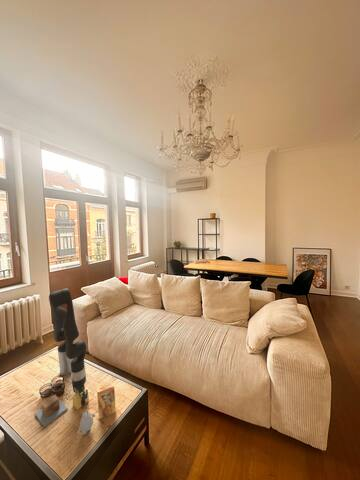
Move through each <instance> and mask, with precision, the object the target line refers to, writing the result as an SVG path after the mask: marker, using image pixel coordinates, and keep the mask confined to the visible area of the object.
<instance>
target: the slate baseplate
mask: <svg viewBox="0 0 360 480" xmlns="http://www.w3.org/2000/svg"><path fill="white" fill-rule="evenodd" d="M59 405H60V408H59V409H58V410H57V411H55V412H54V413H52V414H51V415H50V416H48V417H47V418H46V417H45V416H44V415H43V413H42V408H41V409H39V410H38V411H37V412H34V416H35V418H37V420H38V422H39V423H40V425H41V426H42V427H43V428H46V427H47V426H48V425H50V424H51V423H52V422H53V421H55V420H56V419H57V418H59V417H60V416H61V415H63V414H64V413H66V412H67V411H68V407H67V406H66V405H65V404H64V403H63V402H62V400H61V399H59Z"/></svg>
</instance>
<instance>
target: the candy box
mask: <svg viewBox="0 0 360 480" xmlns="http://www.w3.org/2000/svg"><path fill="white" fill-rule="evenodd" d="M96 396H97V397H96V398H97V407H98V419H99V420H101V419H103V418H105V417H108V416H110V415H113V414H116V412H117V411H116V409H117V407H116V394H115V386H114V383H110V384H107V385H105V386H101V387H98V388H97V389H96Z"/></svg>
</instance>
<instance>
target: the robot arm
mask: <svg viewBox="0 0 360 480" xmlns="http://www.w3.org/2000/svg"><path fill="white" fill-rule="evenodd" d="M48 301H49V306H50V310H51V317H52V319H51V321H52V324H53V325H52V326H53V337H54V339H53V340H54V342H56V343H60V342H61V343H60V344H58V346H57V354H58V364H59V374H60V375H61V376H67V375H70V376H71V377H70V378H71V386H72V391H73V393H74V394H76V393H77V392H78V394H79V396H80V398H81V405H83V406H84V405H85V404H86V403H85V399H86V398H87V395H88V396H89V391H88V389H86V386H85V384H86V382H87V376H86V375H87V373H86V367H85V357H86V353H87V343H86V342H85V341H84V340H79V341H76V342H75V340H76V339H77V338H79V336H80V332H79V330H78V325H77V322H76V318H75V317H76V315H75V310H74V309H75V308H74V304H73V298H72V293H71V291H70V289H69V288H67V287H66V288H62V289H57V290H55V291H53V292H50V293H49V295H48ZM65 305H66V308H64V307H62V306H65ZM85 389H86V390H85ZM82 392H83V393H82ZM80 393H81V394H80Z"/></svg>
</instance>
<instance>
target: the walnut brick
mask: <svg viewBox="0 0 360 480" xmlns="http://www.w3.org/2000/svg"><path fill="white" fill-rule="evenodd" d="M59 400H60V398H59V396H57V395H56V394H54V395H52V396H51V397H49V398H47V399H46V400H45V401H42V402H41V404H40V405H41V409H42V413H43V415H44V416H45V417H46V418H47V417H48V416H50V415H51V414H52V413H54V412H55V411H57V410H58V409H59V408H60V405H59Z"/></svg>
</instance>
